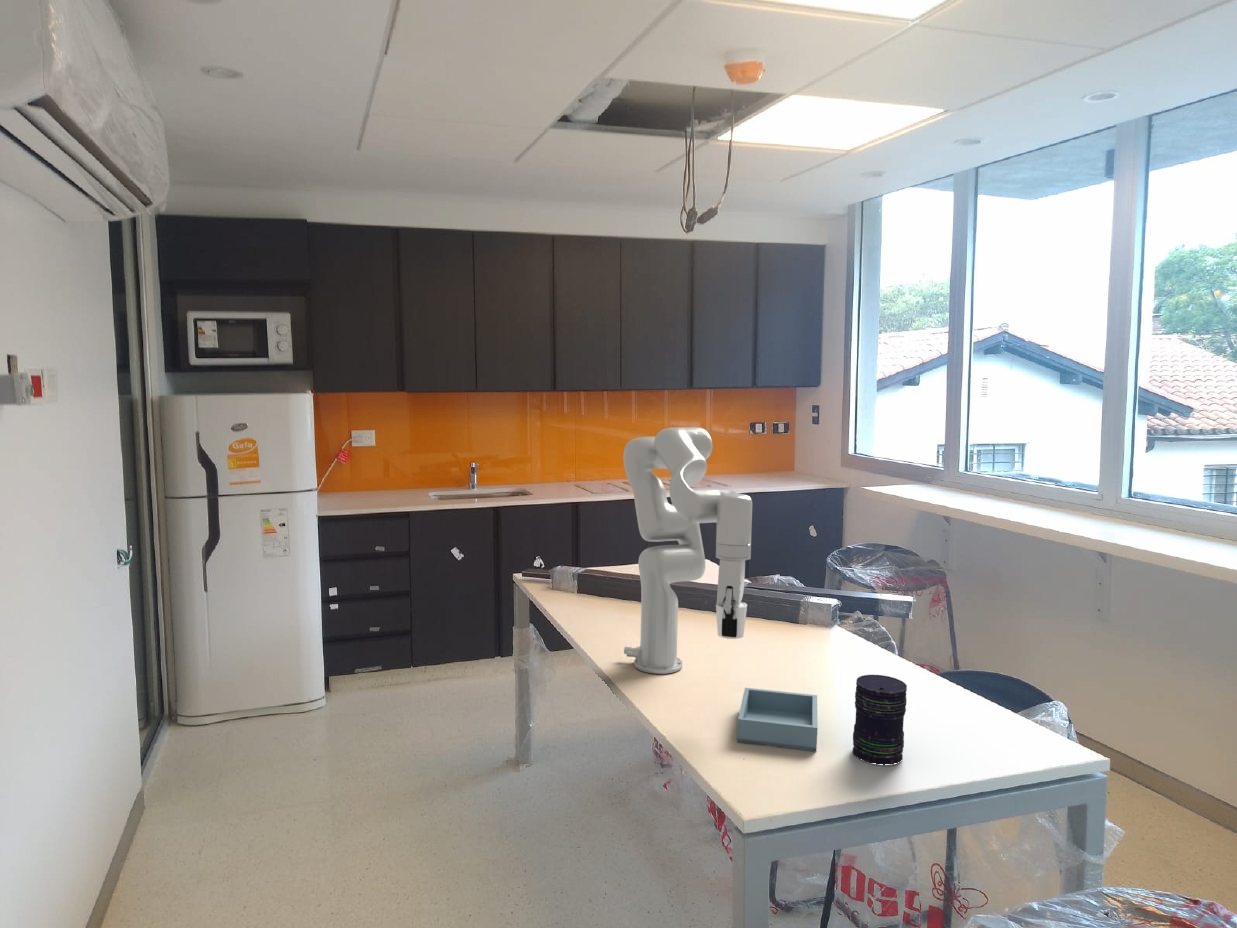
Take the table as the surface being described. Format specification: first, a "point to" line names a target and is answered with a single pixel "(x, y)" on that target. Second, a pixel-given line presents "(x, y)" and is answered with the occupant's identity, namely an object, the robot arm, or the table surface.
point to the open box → (778, 719)
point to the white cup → (740, 618)
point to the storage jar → (879, 719)
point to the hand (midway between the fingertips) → (730, 631)
